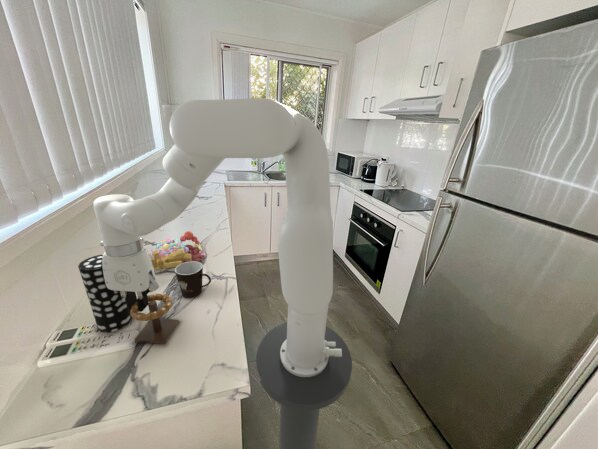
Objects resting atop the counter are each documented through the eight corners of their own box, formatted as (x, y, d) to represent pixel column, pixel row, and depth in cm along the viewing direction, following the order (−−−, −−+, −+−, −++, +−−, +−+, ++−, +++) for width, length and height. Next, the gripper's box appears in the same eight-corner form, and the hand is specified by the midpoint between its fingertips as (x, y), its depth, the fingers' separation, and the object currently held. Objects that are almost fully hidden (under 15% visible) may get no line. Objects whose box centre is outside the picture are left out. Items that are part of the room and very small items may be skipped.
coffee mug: (174, 292, 84) (170, 267, 81) (197, 282, 90) (195, 258, 87) (190, 308, 77) (186, 282, 74) (214, 296, 83) (212, 271, 80)
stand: (179, 322, 72) (174, 294, 68) (164, 344, 64) (158, 314, 61) (152, 320, 72) (146, 292, 68) (134, 342, 64) (126, 312, 61)
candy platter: (208, 266, 101) (207, 246, 97) (142, 280, 90) (137, 258, 86) (199, 242, 121) (197, 225, 117) (144, 251, 110) (140, 232, 106)
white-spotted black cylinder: (100, 317, 72) (81, 257, 65) (133, 308, 76) (119, 251, 69) (95, 336, 65) (74, 273, 58) (132, 326, 69) (117, 265, 62)
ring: (178, 298, 70) (178, 293, 69) (160, 323, 61) (159, 317, 60) (145, 296, 70) (144, 291, 69) (122, 321, 61) (120, 315, 60)
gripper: (77, 251, 55) (97, 316, 61) (148, 255, 55) (160, 319, 62) (103, 238, 62) (118, 297, 68) (165, 241, 62) (175, 300, 69)
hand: (138, 307), depth 65 cm, fingers closed on ring, 2 cm apart
